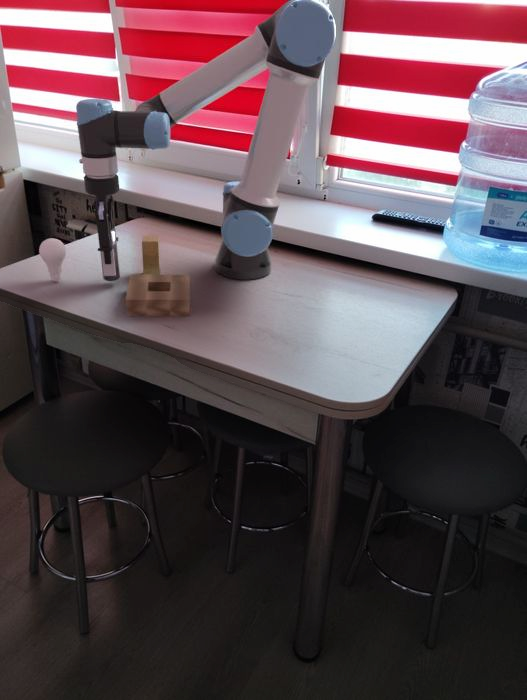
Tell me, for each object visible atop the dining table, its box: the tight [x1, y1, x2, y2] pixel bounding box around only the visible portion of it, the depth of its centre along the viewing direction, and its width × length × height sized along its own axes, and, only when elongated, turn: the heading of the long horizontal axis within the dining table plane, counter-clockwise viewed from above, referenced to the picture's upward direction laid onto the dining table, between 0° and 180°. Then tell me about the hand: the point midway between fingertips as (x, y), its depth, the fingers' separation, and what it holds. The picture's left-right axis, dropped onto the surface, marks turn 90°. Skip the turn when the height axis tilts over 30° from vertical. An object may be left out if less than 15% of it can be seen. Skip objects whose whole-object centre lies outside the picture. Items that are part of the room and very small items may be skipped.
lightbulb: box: [38, 237, 67, 283], centre depth 144 cm, size 6×6×11 cm
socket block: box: [125, 273, 191, 317], centre depth 139 cm, size 14×14×4 cm
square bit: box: [141, 235, 161, 275], centre depth 150 cm, size 4×4×10 cm
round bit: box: [99, 228, 121, 282], centre depth 142 cm, size 4×4×12 cm
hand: (111, 271), depth 144 cm, fingers closed on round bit, 4 cm apart
